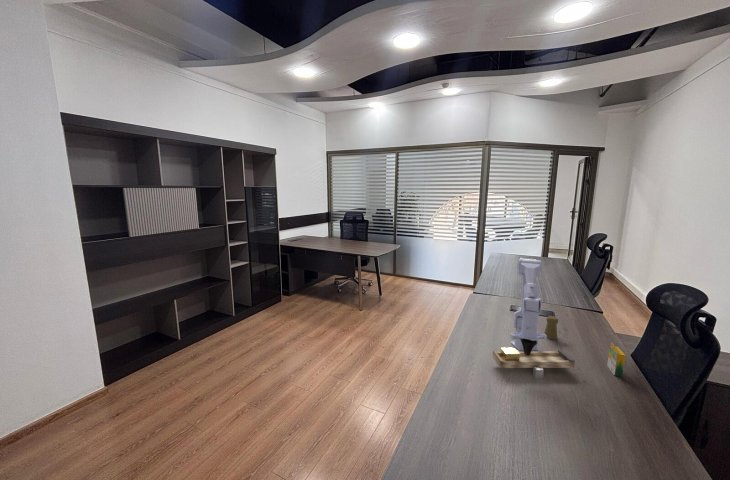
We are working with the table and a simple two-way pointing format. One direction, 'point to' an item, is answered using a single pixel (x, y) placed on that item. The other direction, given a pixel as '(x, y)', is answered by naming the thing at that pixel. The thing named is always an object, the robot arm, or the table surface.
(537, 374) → the grey rectangular bar
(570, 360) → the beam
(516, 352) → the block
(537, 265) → the robot arm
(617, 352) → the crayon box
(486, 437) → the table surface
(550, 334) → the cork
